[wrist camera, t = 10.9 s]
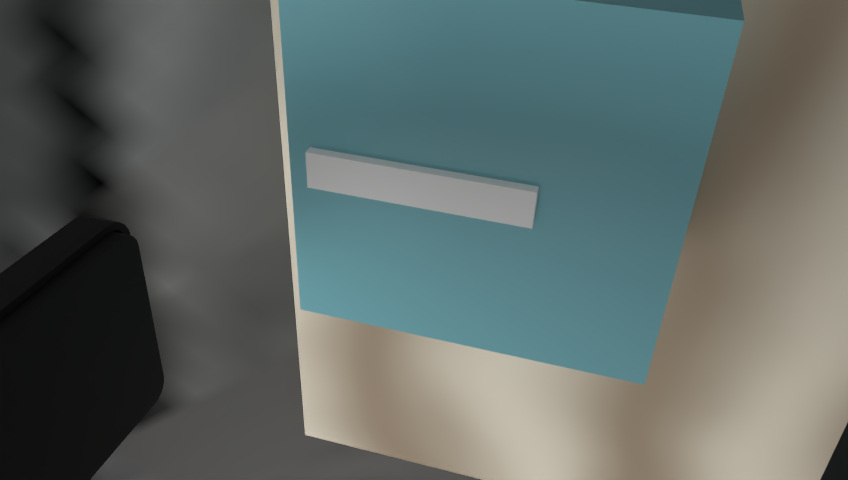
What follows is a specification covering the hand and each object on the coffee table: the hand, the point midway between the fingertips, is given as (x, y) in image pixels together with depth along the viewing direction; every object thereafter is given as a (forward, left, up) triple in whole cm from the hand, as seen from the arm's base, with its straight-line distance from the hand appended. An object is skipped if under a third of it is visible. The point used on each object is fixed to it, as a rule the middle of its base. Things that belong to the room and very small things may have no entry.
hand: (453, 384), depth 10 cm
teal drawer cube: (+1, -1, -9) cm, 9 cm away
